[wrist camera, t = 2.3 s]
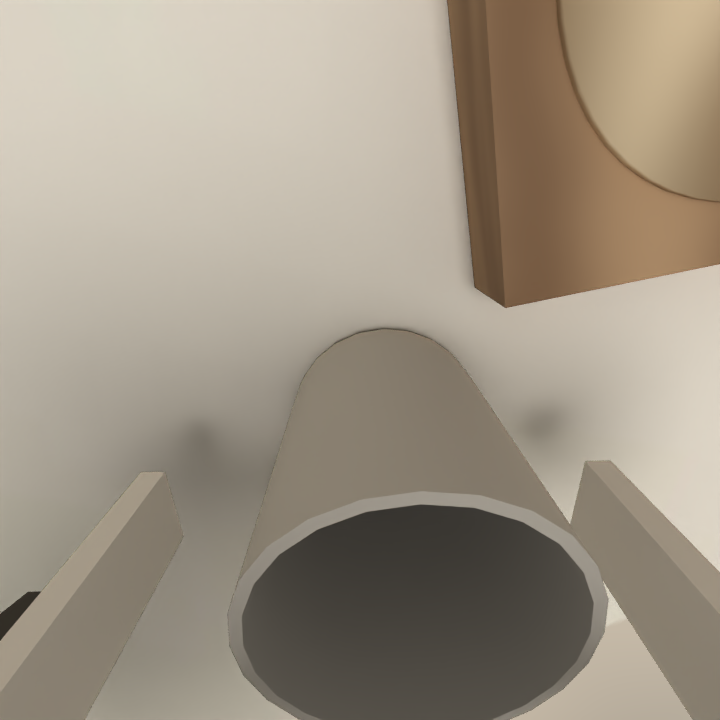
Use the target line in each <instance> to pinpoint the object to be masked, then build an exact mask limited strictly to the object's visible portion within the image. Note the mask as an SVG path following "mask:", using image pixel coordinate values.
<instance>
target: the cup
mask: <svg viewBox="0 0 720 720" xmlns="http://www.w3.org/2000/svg"><path fill="white" fill-rule="evenodd" d="M607 608H608V597H607V593H606V590H605V587H604V584H603V580H602V577H601V574H600V571H599V567H598V565H597V564H596V562H595V561H594V559H593V558H592V557H591V555H590V554H589V552H588V551H587V549H586V548H585V546H584V545H583V543H582V542H581V540H580V539H579V537H578V536H577V534H576V533H575V531H574V530H573V528H572V527H571V525H570V524H569V522H568V521H567V520H566V518H565V517H564V515H563V514H562V512H561V511H560V509H559V508H558V506H557V505H556V503H555V502H554V500H553V499H552V497H551V496H550V494H549V493H548V491H547V490H546V488H545V487H544V485H543V484H542V483H541V481H540V480H539V478H538V477H537V475H536V474H535V472H534V471H533V469H532V468H531V466H530V465H529V463H528V462H527V460H526V459H525V457H524V456H523V454H522V453H521V451H520V450H519V448H518V447H517V446H516V444H515V443H514V441H513V440H512V438H511V437H510V435H509V434H508V432H507V431H506V429H505V428H504V426H503V425H502V423H501V422H500V420H499V419H498V417H497V416H496V414H495V413H494V411H493V410H492V409H491V407H490V406H489V404H488V403H487V401H486V400H485V398H484V397H483V395H482V394H481V392H480V391H479V389H478V388H477V386H476V385H475V383H474V382H473V380H472V379H471V377H470V376H469V375H468V374H467V372H466V371H465V370H464V369H463V367H462V366H461V365H460V363H459V362H458V361H457V360H456V358H455V357H454V356H453V355H452V354H451V353H450V352H449V351H447V350H446V349H444V348H443V347H441V346H440V345H439V344H437V343H436V342H434V341H433V340H431V339H429V338H426V337H423V336H420V335H418V334H415V333H412V332H409V331H401V330H389V329H381V330H375V331H369V332H362V333H358V334H355V335H353V336H351V337H349V338H346V339H344V340H342V341H340V342H337V343H335V344H334V345H333V346H332V347H330V348H329V349H328V350H327V351H325V352H324V353H323V354H322V355H320V356H319V357H318V358H317V359H316V361H315V362H314V363H313V365H312V366H311V368H310V369H309V370H308V372H307V373H306V375H305V376H304V378H303V380H302V382H301V384H300V387H299V390H298V393H297V396H296V399H295V402H294V404H293V408H292V411H291V414H290V417H289V420H288V423H287V427H286V430H285V433H284V436H283V439H282V442H281V446H280V449H279V452H278V455H277V458H276V461H275V465H274V468H273V471H272V474H271V477H270V480H269V484H268V487H267V490H266V493H265V496H264V499H263V503H262V506H261V509H260V512H259V515H258V518H257V522H256V525H255V528H254V531H253V534H252V537H251V541H250V544H249V547H248V550H247V553H246V556H245V560H244V563H243V566H242V569H241V572H240V575H239V579H238V582H237V585H236V588H235V591H234V594H233V598H232V601H231V604H230V607H229V610H228V613H227V616H228V631H229V646H230V648H231V650H232V653H233V655H234V657H235V659H236V661H237V663H238V665H239V667H240V669H241V671H242V673H243V675H244V677H245V678H246V679H247V680H248V681H249V682H250V683H251V684H252V685H253V686H254V687H255V688H256V689H257V690H258V691H259V692H260V693H261V694H262V695H263V696H264V697H265V698H266V699H267V700H268V701H270V702H272V703H273V704H275V705H277V706H278V707H280V708H281V709H283V710H285V711H286V712H288V713H289V714H291V715H293V716H294V717H296V718H298V719H300V720H510V719H512V718H514V717H516V716H519V715H521V714H524V713H526V712H528V711H531V710H532V709H534V708H535V707H537V706H539V705H540V704H542V703H543V702H545V701H546V700H548V699H549V698H551V697H552V696H553V695H555V694H557V693H558V692H560V691H561V690H563V689H564V688H565V687H566V686H567V685H568V684H569V683H570V682H571V681H572V680H573V678H575V676H577V674H578V673H579V672H580V671H581V670H582V669H583V668H584V667H585V666H586V665H587V664H588V663H589V661H590V659H591V657H592V656H593V653H594V652H595V650H596V648H597V646H598V644H599V642H600V640H601V638H602V636H603V634H604V632H605V624H606V616H607Z"/></svg>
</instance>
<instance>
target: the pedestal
mask: <svg viewBox="0 0 720 720" xmlns="http://www.w3.org/2000/svg"><path fill="white" fill-rule="evenodd" d="M447 1H448V12H449V22H450V33H451V43H452V54H453V64H454V75H455V85H456V96H457V106H458V117H459V127H460V138H461V148H462V159H463V169H464V180H465V190H466V201H467V211H468V222H469V232H470V243H471V253H472V264H473V274H474V285H475V288H477V289H478V290H479V291H481V292H482V293H484V294H485V295H487V296H488V297H490V298H491V299H493V300H494V301H496V302H497V303H499V304H500V305H502V306H503V307H505V308H507V307H512V306H517V305H522V304H527V303H532V302H537V301H542V300H547V299H551V298H556V297H561V296H566V295H571V294H576V293H581V292H586V291H590V290H595V289H600V288H605V287H610V286H615V285H620V284H625V283H630V282H634V281H639V280H644V279H649V278H654V277H659V276H664V275H669V274H674V273H678V272H683V271H688V270H693V269H698V268H703V267H708V266H713V265H717V264H720V0H447Z"/></svg>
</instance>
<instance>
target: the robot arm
mask: <svg viewBox="0 0 720 720" xmlns="http://www.w3.org/2000/svg"><path fill="white" fill-rule="evenodd" d="M570 525H571V527H572V528H573V530H574V531H575V533H576V534H577V536H578V537H579V539H580V540H581V542H582V543H583V545H584V546H585V548H586V549H587V551H588V552H589V554H590V555H591V557H592V558H593V559H594V561H595V562H596V564H597V565H598V567H599V571H600V574H601V577H602V580H603V581H604V583H605V584H606V586H607V587H608V589H609V591H610V592H611V594H612V595H613V597H614V598H615V600H616V601H617V603H618V605H619V606H620V608H621V609H622V611H623V612H624V614H625V615H626V617H627V619H628V620H629V622H630V623H631V625H632V626H633V628H634V629H635V631H636V633H637V634H638V636H639V637H640V639H641V640H642V642H643V643H644V645H645V646H646V648H647V650H648V651H649V653H650V654H651V656H652V657H653V659H654V660H655V662H656V664H657V665H658V667H659V668H660V670H661V671H662V673H663V674H664V676H665V678H666V679H667V681H668V682H669V684H670V685H671V687H672V688H673V690H674V691H675V693H676V695H677V696H678V698H679V699H680V701H681V702H682V704H683V705H684V707H685V709H686V710H687V712H688V713H689V715H690V716H691V718H692V719H693V720H720V572H719V571H718V570H717V569H716V568H715V567H714V566H713V565H712V564H711V563H710V562H709V561H708V560H707V559H706V558H705V557H704V556H703V555H702V554H701V553H700V552H699V551H698V550H697V549H696V548H695V547H694V546H693V544H692V543H691V542H690V541H689V540H688V539H687V538H686V537H685V536H684V535H683V534H682V533H681V532H680V531H679V530H678V529H677V528H676V527H675V526H674V525H673V524H672V523H671V522H670V521H669V520H668V519H667V518H666V517H665V516H664V515H663V514H662V513H661V512H660V511H659V510H658V509H657V508H656V507H655V506H654V505H653V504H652V503H651V502H650V501H649V500H648V498H647V497H646V496H645V495H644V494H643V493H642V492H641V491H640V490H639V489H638V488H637V487H636V486H635V485H634V484H633V483H632V482H631V481H630V480H629V479H628V478H627V477H626V476H625V475H624V474H623V473H622V472H621V471H620V470H619V469H618V468H617V467H616V466H615V465H614V464H613V463H612V462H611V461H585V465H584V469H583V473H582V477H581V481H580V486H579V490H578V494H577V498H576V502H575V507H574V511H573V515H572V519H571V524H570ZM183 537H184V536H183V532H182V529H181V525H180V522H179V518H178V515H177V512H176V508H175V505H174V501H173V498H172V494H171V491H170V487H169V484H168V480H167V477H166V473H165V472H141V473H140V474H139V475H138V476H137V478H136V479H135V480H134V481H133V482H132V484H131V485H130V486H129V487H128V488H127V490H126V491H125V492H124V493H123V494H122V496H121V497H120V498H119V499H118V500H117V502H116V503H115V504H114V505H113V506H112V508H111V509H110V510H109V511H108V512H107V514H106V515H105V516H104V517H103V518H102V520H101V521H100V522H99V523H98V524H97V525H96V527H95V528H94V529H93V530H92V531H91V533H90V534H89V535H88V536H87V537H86V539H85V540H84V541H83V542H82V543H81V545H80V546H79V547H78V548H77V549H76V551H75V552H74V553H73V554H72V555H71V557H70V558H69V559H68V560H67V561H66V563H65V564H64V565H63V566H62V567H61V569H60V570H59V571H58V572H57V573H56V575H55V576H54V577H53V578H52V579H51V581H50V582H49V583H48V584H47V585H46V587H45V588H44V589H43V590H42V591H41V592H27V593H26V594H25V595H24V596H22V597H21V598H20V599H19V600H17V601H16V602H15V603H13V604H12V605H11V606H10V607H8V608H7V609H6V610H5V611H3V612H2V613H1V614H0V720H85V718H86V716H87V714H88V712H89V711H90V709H91V707H92V705H93V703H94V701H95V700H96V698H97V696H98V694H99V692H100V690H101V688H102V687H103V685H104V683H105V681H106V679H107V677H108V676H109V674H110V672H111V670H112V668H113V666H114V664H115V663H116V661H117V659H118V657H119V655H120V653H121V652H122V650H123V648H124V646H125V644H126V642H127V640H128V639H129V637H130V635H131V633H132V631H133V629H134V628H135V626H136V624H137V622H138V620H139V618H140V616H141V615H142V613H143V611H144V609H145V607H146V605H147V604H148V602H149V600H150V598H151V596H152V594H153V592H154V591H155V589H156V587H157V585H158V583H159V581H160V579H161V578H162V576H163V574H164V572H165V570H166V568H167V567H168V565H169V563H170V561H171V559H172V557H173V555H174V554H175V552H176V550H177V548H178V546H179V544H180V543H181V541H182V539H183Z"/></svg>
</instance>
